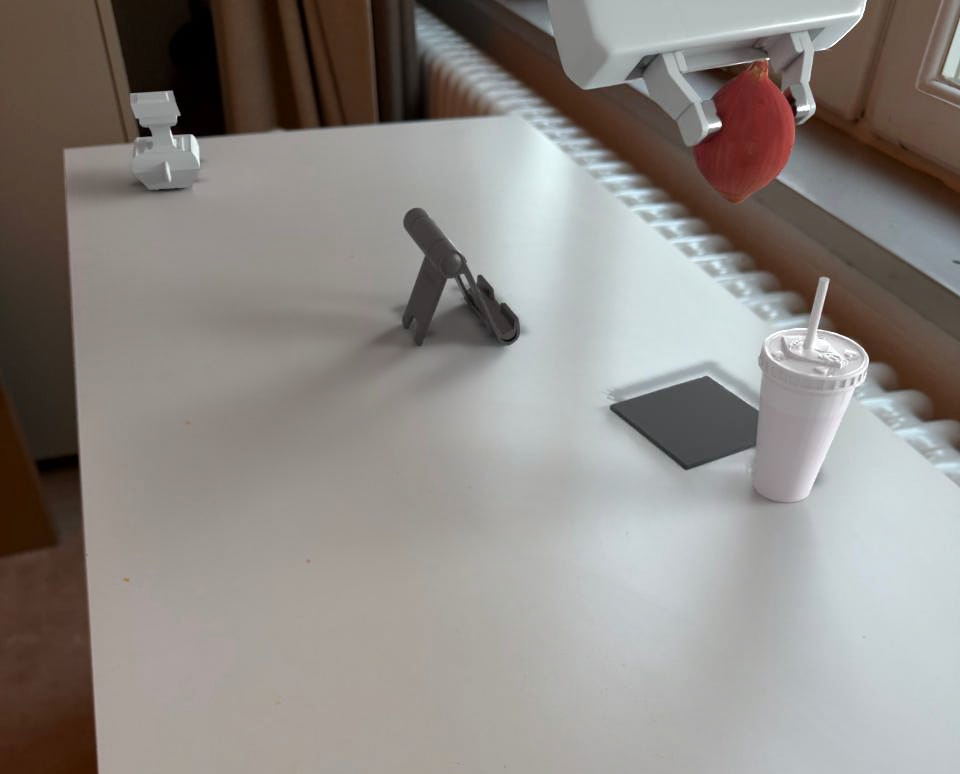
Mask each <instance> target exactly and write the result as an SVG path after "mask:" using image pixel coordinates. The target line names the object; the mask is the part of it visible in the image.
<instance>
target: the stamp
mask: <svg viewBox="0 0 960 774" xmlns="http://www.w3.org/2000/svg"><path fill="white" fill-rule="evenodd" d="M129 98H130V99H129V100H130V107H131V110H132V113H133V115H134V119H137V120H138V123H139V125H140V126H141V127H142V128H148V129H149V130H150V132H151V136H142V137H140V136H139V137H136V138H134V140H133V148H132V160H131V161H132V163H131V169H132V174H133V175H134V176H135V177H136V178H137V179H138V180H139V181H140V182H141V184H143V185H144V186H145V187H146V189H148V190H149V191H160V190H159V189H164V190H175V188H178V189H187V188H193V185H194V183H195V181H196V179H197V177H198V175H199V173H200V170H201V162H200V161H201V160H200V146H199V143H198V140H197V138H196V136H194V135H193V134H190V133H188V134H173V132H172V130H171V127H174V126H176V125H177V123H178V117H180V116H181V112H180V110H179V107H178V105H177V102H176V98H175V95H174V91H173V90H163V91H162V90H161V91H148V92H147V91H145V92H133V93H129Z"/></svg>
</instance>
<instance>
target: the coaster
mask: <svg viewBox="0 0 960 774" xmlns="http://www.w3.org/2000/svg"><path fill="white" fill-rule="evenodd" d="M609 410H610V411H611V412H612V413H613V414H615V416H617V417H618V418H619V419H620V420H622V421H623V422H625V423H626V424H627V425H629V426H630V427H631V428H632V429H633V430H634V431H636V432H637V433H638V434H639V435H641V436H642V437H643V438H645V439H646V440H647V441H648V442H650V443H651V444H652V445H653V446H655V447H656V448H657V449H658V450H659V451H661V452H662V453H663V454H664V455H666V456H667V457H668V458H670V459H671V460H673V461H674V462H675V463H676V464H677V465H679V466H680V467H681V468H682V469H684V471H689V470H692V469H695V468H698V467H700V466H703V465H706V464H709V463H712V462H714V461H719V460H721V459H724V458H726V457H729V456H732V455H735V454H738V453H741V452H744V451H747V450H750V449H753V448H756V440H757V428H758V416H759V409H758V408H756V407H754V406H753V405H752V404H750V403H749V402H747V401H746V400H744V399H743V398H742V397H740V396H739V395H737V394H736V393H735V392H733V391H731V390H730V389H728V388H727V387H726V386H724V385H723V384H721V383H720V382H718V381H717V380H716V379H715V378H713V377H711V376H710V375H708V374H706V375H703V376H700V377H696V378H694V379H690V380H686V381H683V382H680V383H677V384H674V385H671V386H667V387H664V388H661V389H657V390H654V391H650V392H648V393H645V394H642V395H638V396H634V397H631V398H628V399H624V400H622V401H619V402H615V403H612V404H610V406H609Z"/></svg>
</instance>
